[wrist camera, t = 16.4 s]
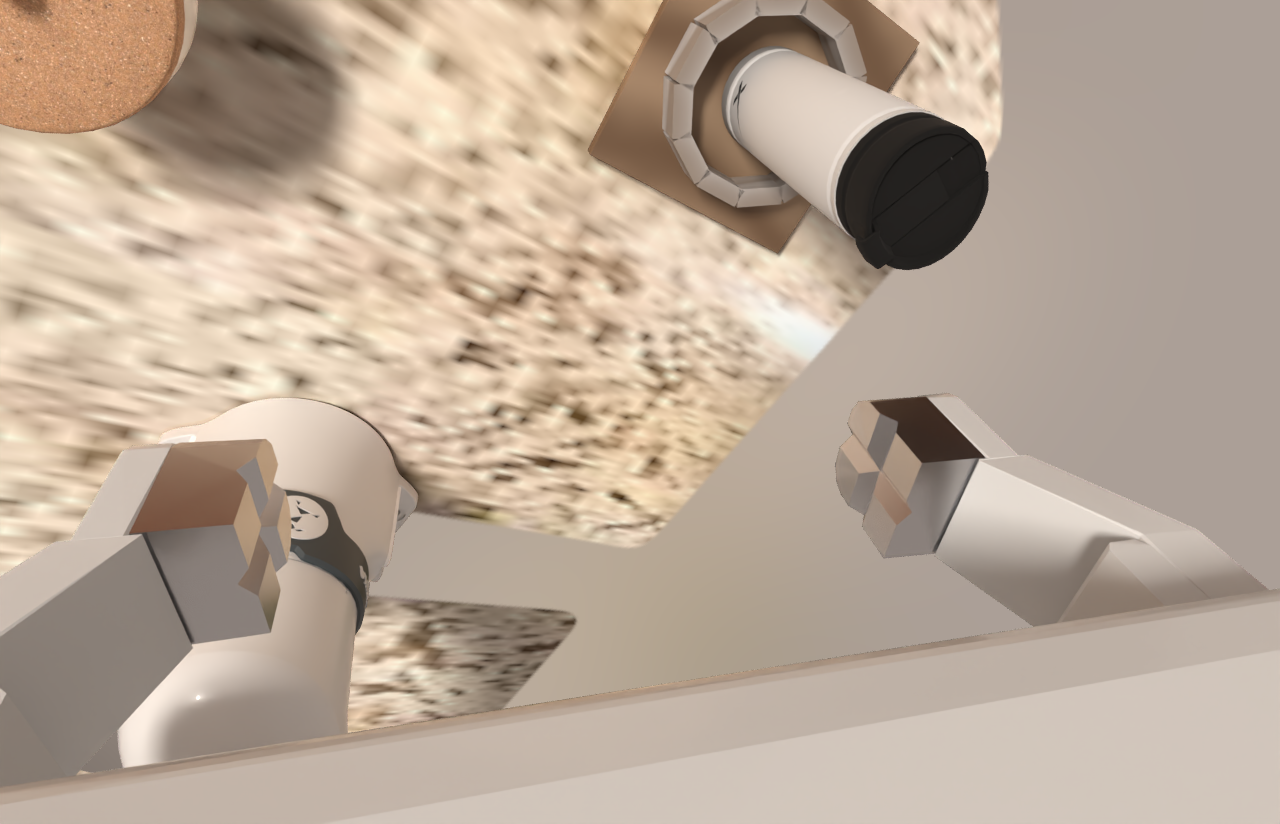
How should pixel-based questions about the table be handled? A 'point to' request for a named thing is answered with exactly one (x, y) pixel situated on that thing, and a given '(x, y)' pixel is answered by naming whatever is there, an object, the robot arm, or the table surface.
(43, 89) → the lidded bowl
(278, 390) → the table surface
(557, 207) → the table surface
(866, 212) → the travel mug
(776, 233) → the collar board
